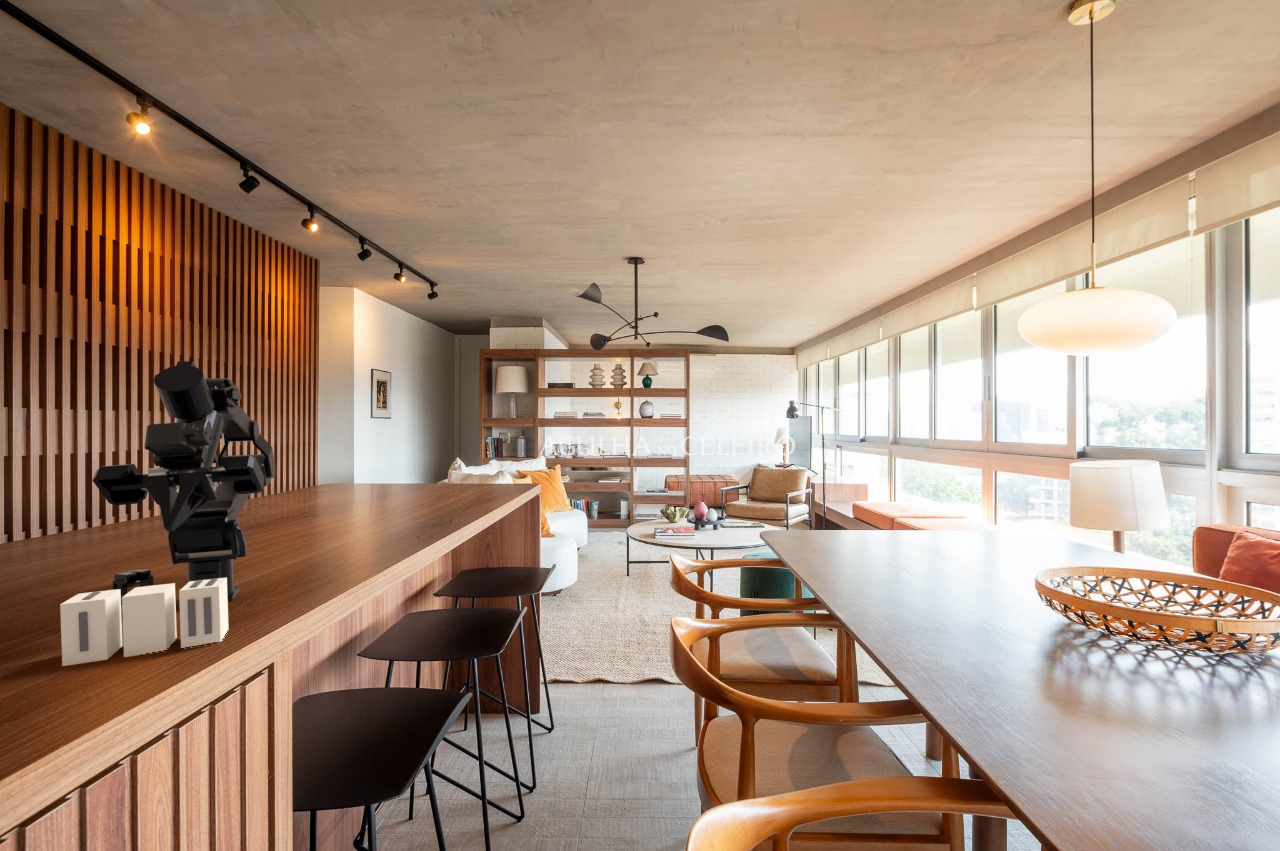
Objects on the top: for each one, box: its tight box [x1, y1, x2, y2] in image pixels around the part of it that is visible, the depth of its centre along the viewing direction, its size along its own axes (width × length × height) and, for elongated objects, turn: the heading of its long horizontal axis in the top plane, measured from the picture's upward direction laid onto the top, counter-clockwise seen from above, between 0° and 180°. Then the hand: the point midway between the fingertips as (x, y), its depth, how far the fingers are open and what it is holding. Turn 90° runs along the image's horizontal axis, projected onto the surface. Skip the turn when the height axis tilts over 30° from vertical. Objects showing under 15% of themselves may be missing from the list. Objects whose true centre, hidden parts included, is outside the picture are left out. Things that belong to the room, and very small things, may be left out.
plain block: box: [121, 582, 178, 658], centre depth 75 cm, size 5×4×7 cm
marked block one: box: [59, 589, 123, 667], centre depth 73 cm, size 5×4×7 cm
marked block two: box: [178, 578, 230, 649], centre depth 77 cm, size 5×4×7 cm
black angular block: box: [111, 568, 155, 603], centre depth 99 cm, size 12×7×5 cm, turn 161°
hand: (168, 529), depth 81 cm, fingers closed
